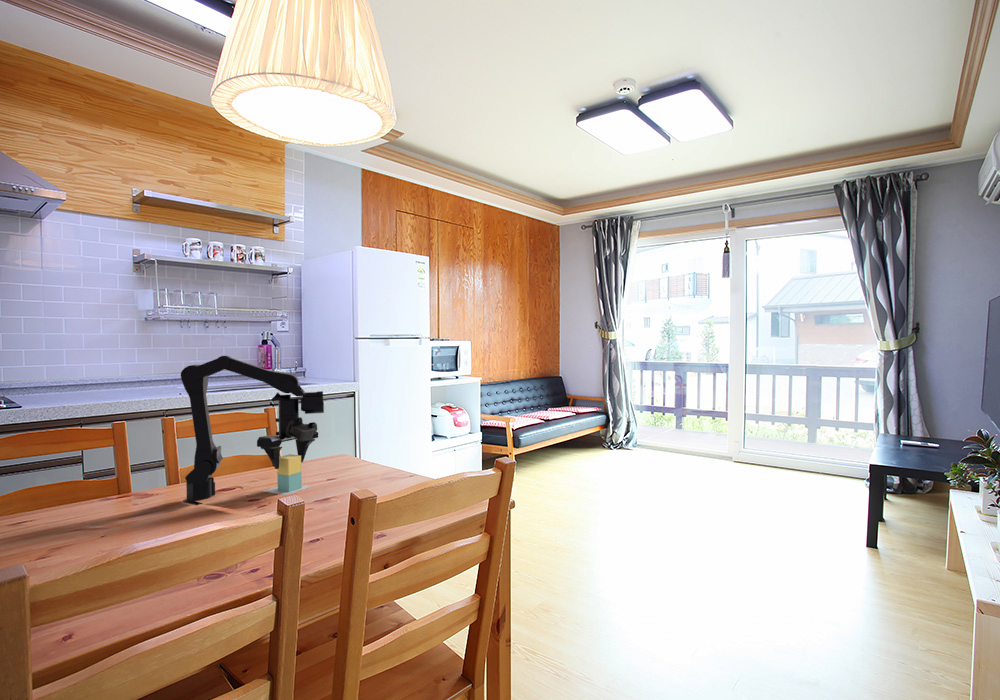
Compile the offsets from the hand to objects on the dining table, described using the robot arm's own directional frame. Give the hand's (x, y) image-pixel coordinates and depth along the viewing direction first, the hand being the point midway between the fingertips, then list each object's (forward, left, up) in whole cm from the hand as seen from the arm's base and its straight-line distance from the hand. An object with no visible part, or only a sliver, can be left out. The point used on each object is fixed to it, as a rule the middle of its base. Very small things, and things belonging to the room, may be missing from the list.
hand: (289, 465), depth 155 cm
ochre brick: (0, 0, -2) cm, 2 cm away
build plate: (0, +1, -8) cm, 8 cm away
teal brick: (0, 0, -7) cm, 7 cm away
